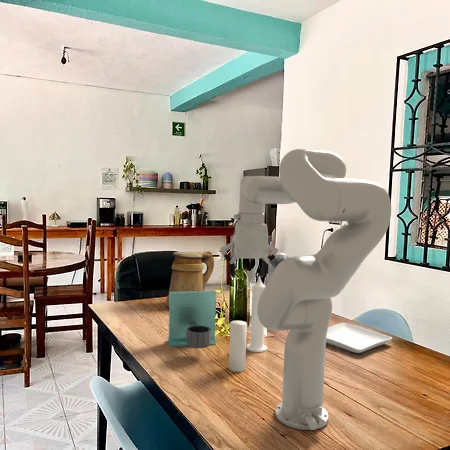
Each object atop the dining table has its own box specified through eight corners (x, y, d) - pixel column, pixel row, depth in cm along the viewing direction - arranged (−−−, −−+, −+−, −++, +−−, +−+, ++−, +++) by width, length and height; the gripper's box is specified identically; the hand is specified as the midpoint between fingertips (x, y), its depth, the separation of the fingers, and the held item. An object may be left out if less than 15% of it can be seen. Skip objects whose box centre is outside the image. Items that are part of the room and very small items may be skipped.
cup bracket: (225, 359, 138) (226, 303, 137) (174, 362, 135) (175, 305, 133) (212, 338, 158) (213, 289, 156) (167, 340, 154) (168, 290, 152)
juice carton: (263, 316, 188) (265, 254, 186) (268, 310, 198) (270, 250, 196) (283, 318, 185) (286, 255, 183) (287, 312, 195) (290, 252, 193)
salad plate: (359, 359, 144) (360, 349, 143) (308, 340, 160) (309, 331, 160) (393, 346, 157) (394, 336, 157) (343, 330, 173) (344, 321, 173)
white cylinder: (247, 371, 130) (248, 325, 129) (230, 372, 129) (232, 326, 128) (242, 364, 135) (244, 320, 134) (226, 365, 134) (228, 320, 133)
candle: (266, 353, 145) (268, 279, 143) (244, 351, 146) (247, 277, 144) (268, 346, 152) (271, 275, 150) (248, 344, 153) (250, 273, 151)
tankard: (158, 303, 203) (159, 250, 201) (202, 297, 217) (203, 247, 215) (177, 313, 189) (178, 255, 187) (222, 306, 202) (224, 252, 200)
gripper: (225, 219, 122) (222, 279, 124) (283, 221, 126) (280, 279, 128) (219, 216, 129) (217, 273, 131) (275, 218, 133) (272, 273, 135)
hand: (248, 276), depth 129 cm, fingers open, 9 cm apart
